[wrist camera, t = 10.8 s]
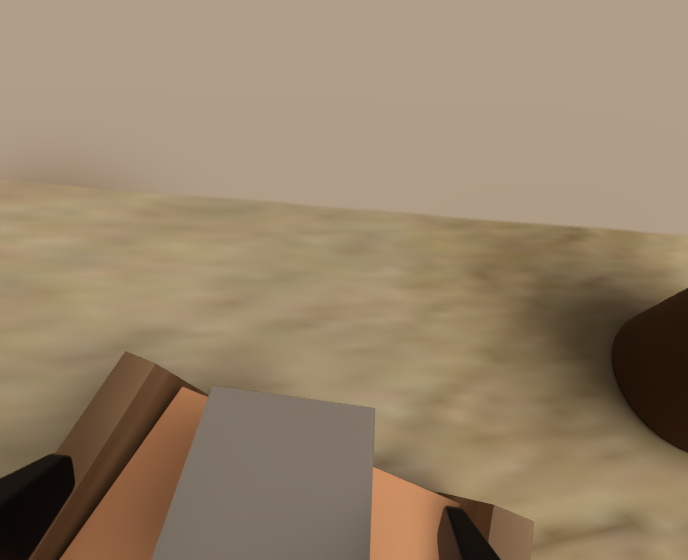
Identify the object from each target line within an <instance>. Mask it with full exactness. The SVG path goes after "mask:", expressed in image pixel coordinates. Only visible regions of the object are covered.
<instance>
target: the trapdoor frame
mask: <svg viewBox="0 0 688 560" xmlns="http://www.w3.org/2000/svg"><path fill="white" fill-rule="evenodd" d="M182 387H185V388H187V389H190V390H192V391H194V392H197V393H199V394H201V395H204V396H206V397H207V396H208V395H207V394H205V393H204V392H202V391H200V390H199V389H197V388H195V387H194V386H192V385H190V384H189V383H187V382H185V381H184V380H182V379H180V378H179V377H177V376H175V375H174V374H172V373H170V372H169V371H167V370H165V369H164V368H162V367H160V366H159V365H157V364H155V363H153V362H150V361H148V360H146V359H143V358H141V357H138V356H136V355H134V354H131V353H129V352H126V351H125V353H124V354H123V356H122V357H121V359H120V360H119V362H118V363H117V364H116V366H115V367H114V369H113V370H112V372H111V373H110V375H109V376H108V378H107V379H106V381H105V382H104V384H103V385H102V386H101V388H100V389H99V391H98V392H97V394H96V395H95V397H94V398H93V400H92V401H91V403H90V404H89V405H88V407H87V408H86V410H85V411H84V413H83V414H82V416H81V417H80V419H79V420H78V422H77V423H76V425H75V426H74V427H73V429H72V430H71V432H70V433H69V435H68V436H67V438H66V439H65V441H64V442H63V444H62V445H61V446H60V448H59V449H58V451H57V452H56V453H57V454H65V455H69V456H71V458H72V460H73V467H74V474H75V486H74V489H73V491H72V493H71V495H70V496H69V498H68V499H67V501H66V503H65V504H64V506H63V507H62V509H61V510H60V512H59V513H58V515H57V517H56V518H55V520H54V521H53V523H52V524H51V526H50V527H49V529H48V531H47V532H46V534H45V535H44V537H43V538H42V540H41V541H40V543H39V544H38V546H37V548H36V549H35V551H34V552H33V554H32V555H31V557H30V558H29V560H60V558H61V557H62V555H63V554H64V553H65V551H66V550H67V548H68V547H69V546H70V544H71V543H72V541H73V540H74V539H75V537H76V536H77V534H78V533H79V531H80V530H81V529H82V527H83V526H84V524H85V523H86V522H87V520H88V519H89V517H90V516H91V515H92V513H93V512H94V510H95V509H96V508H97V506H98V505H99V503H100V502H101V500H102V499H103V498H104V496H105V495H106V493H107V492H108V491H109V489H110V488H111V486H112V485H113V484H114V482H115V481H116V479H117V478H118V477H119V475H120V474H121V472H122V471H123V470H124V468H125V467H126V465H127V464H128V462H129V461H130V460H131V458H132V457H133V455H134V454H135V453H136V451H137V450H138V448H139V447H140V446H141V444H142V443H143V441H144V440H145V439H146V437H147V436H148V434H149V433H150V431H151V430H152V429H153V427H154V426H155V424H156V423H157V422H158V420H159V419H160V417H161V416H162V415H163V413H164V412H165V410H166V409H167V408H168V406H169V405H170V403H171V402H172V401H173V399H174V398H175V396H176V395H177V393H178V392H179V391H180V389H181V388H182ZM439 495H441V496H443V497H445V498H448V499H450V500H452V501H455V502H457V503H459V507H461V508H462V509H463V510H464V511H465V512H466V513H467V514H468V516H469V517H470V519H471V520H472V521H473V523H474V524H475V525H476V527H477V528H478V529H479V531H480V532H481V533H482V535H483V536H484V537H485V539H486V540H487V541H488V543H489V544H490V545H491V547H492V548H493V549H494V551H495V552H496V553H497V555H498V556H499V557H500V559H501V560H530V557H531V548H532V539H533V529H534V521H531V520H529V519H527V518H524V517H522V516H519V515H517V514H515V513H512V512H510V511H507V510H505V509H503V508H500V507H498V506H495V505H492V504H488V503H483V502H479V501H475V500H470V499H466V498H461V497H457V496H453V495H448V494H444V493H439Z"/></svg>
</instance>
